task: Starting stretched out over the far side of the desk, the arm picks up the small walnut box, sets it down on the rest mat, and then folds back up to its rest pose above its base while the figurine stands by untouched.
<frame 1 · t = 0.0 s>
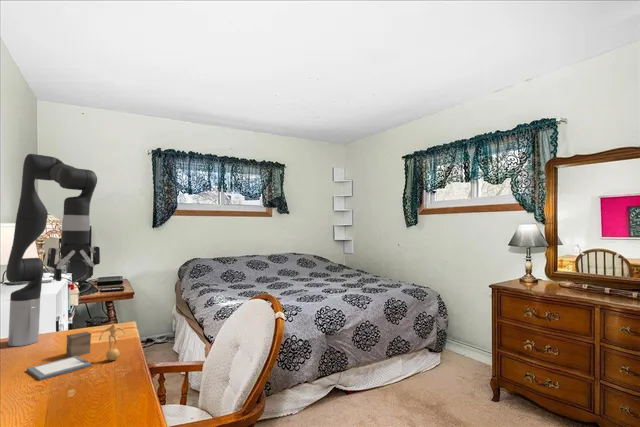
hand: (73, 279, 115), 29 cm above the table, tool pointing down, fingers open, 8 cm apart
walnut box: (78, 354, 129), on the table
figurine: (112, 359, 124), on the table
rest mat: (59, 368, 116), on the table
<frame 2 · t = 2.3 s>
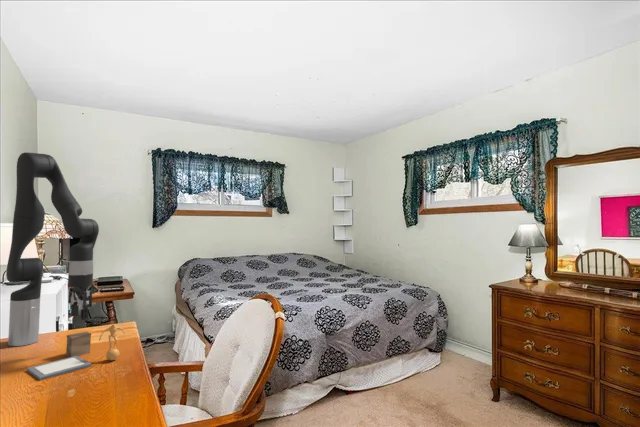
hand: (79, 317, 129), 13 cm above the table, tool pointing down, fingers open, 8 cm apart
nothing on the table moved.
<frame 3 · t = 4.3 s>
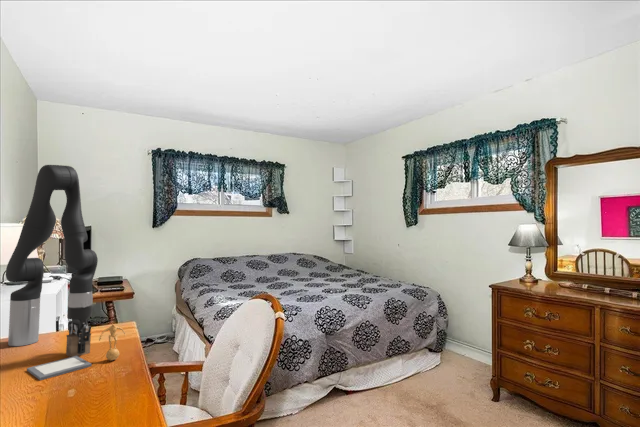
hand: (78, 351, 129), 1 cm above the table, tool pointing down, fingers closed on walnut box, 4 cm apart
walnut box: (78, 353, 129), on the table, touching gripper
everything else where it was.
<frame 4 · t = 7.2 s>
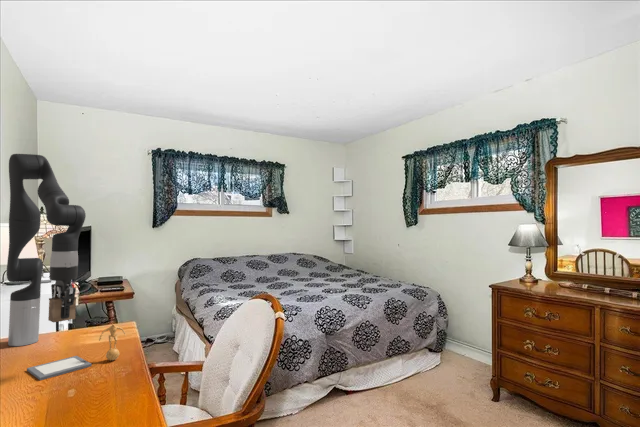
hand: (61, 316, 117), 17 cm above the table, tool pointing down, fingers closed on walnut box, 4 cm apart
walnut box: (61, 319, 117), point 16 cm above the table, touching gripper
everything else where it was.
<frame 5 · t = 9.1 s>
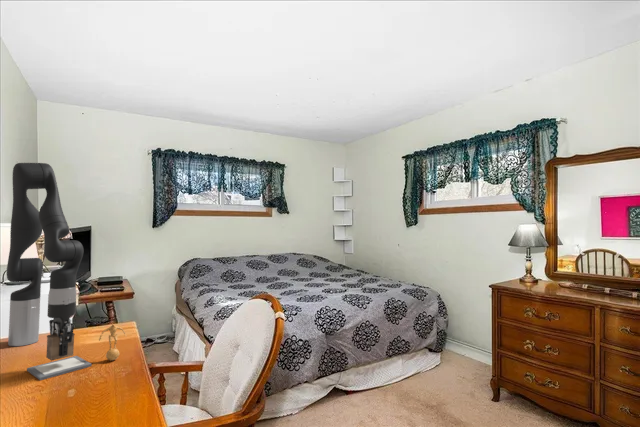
hand: (60, 353, 116), 5 cm above the table, tool pointing down, fingers closed on walnut box, 4 cm apart
walnut box: (59, 356, 116), point 4 cm above the table, touching gripper
everything else where it was.
when the fingers open (3 cm above the table, at t = 10.4 s): walnut box stays where it is, resting on rest mat.
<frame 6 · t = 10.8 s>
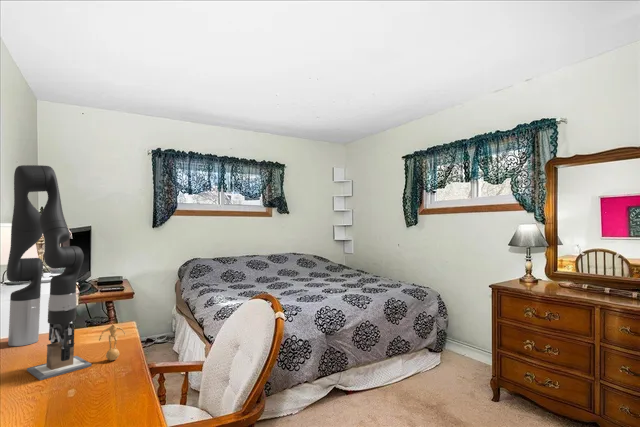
hand: (60, 357, 116), 4 cm above the table, tool pointing down, fingers open, 8 cm apart
walnut box: (59, 365, 116), point 1 cm above the table, touching rest mat
everything else where it was.
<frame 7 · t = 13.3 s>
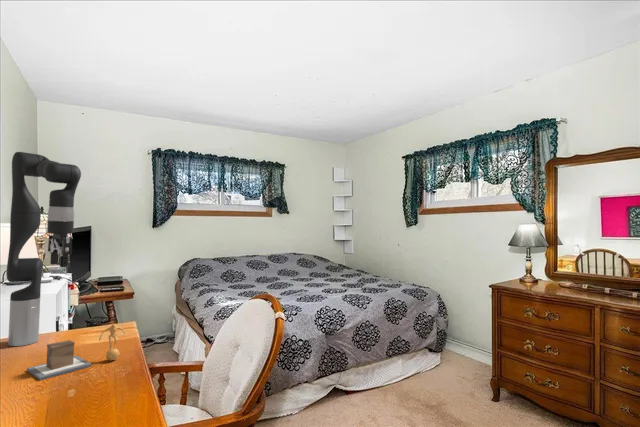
hand: (58, 265, 125), 32 cm above the table, tool pointing down, fingers open, 8 cm apart
nothing on the table moved.
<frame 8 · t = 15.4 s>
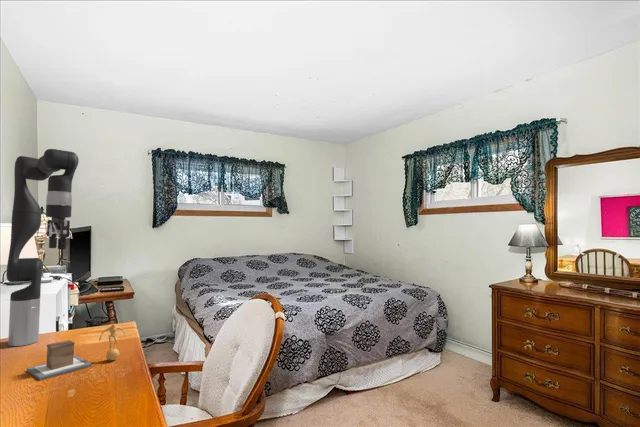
hand: (57, 248, 129), 38 cm above the table, tool pointing down, fingers open, 8 cm apart
nothing on the table moved.
at the end: walnut box 0.0 cm from the rest mat (horizontally); walnut box tilted 0°; the gripper is holding nothing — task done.
